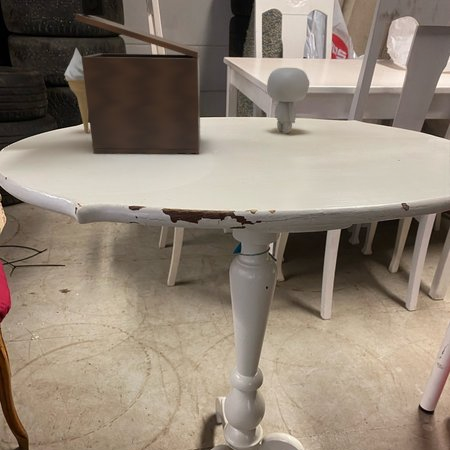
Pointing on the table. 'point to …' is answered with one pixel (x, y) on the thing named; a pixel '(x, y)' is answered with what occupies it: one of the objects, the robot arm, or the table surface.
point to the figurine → (287, 94)
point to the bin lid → (138, 34)
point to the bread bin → (143, 103)
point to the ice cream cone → (78, 85)
